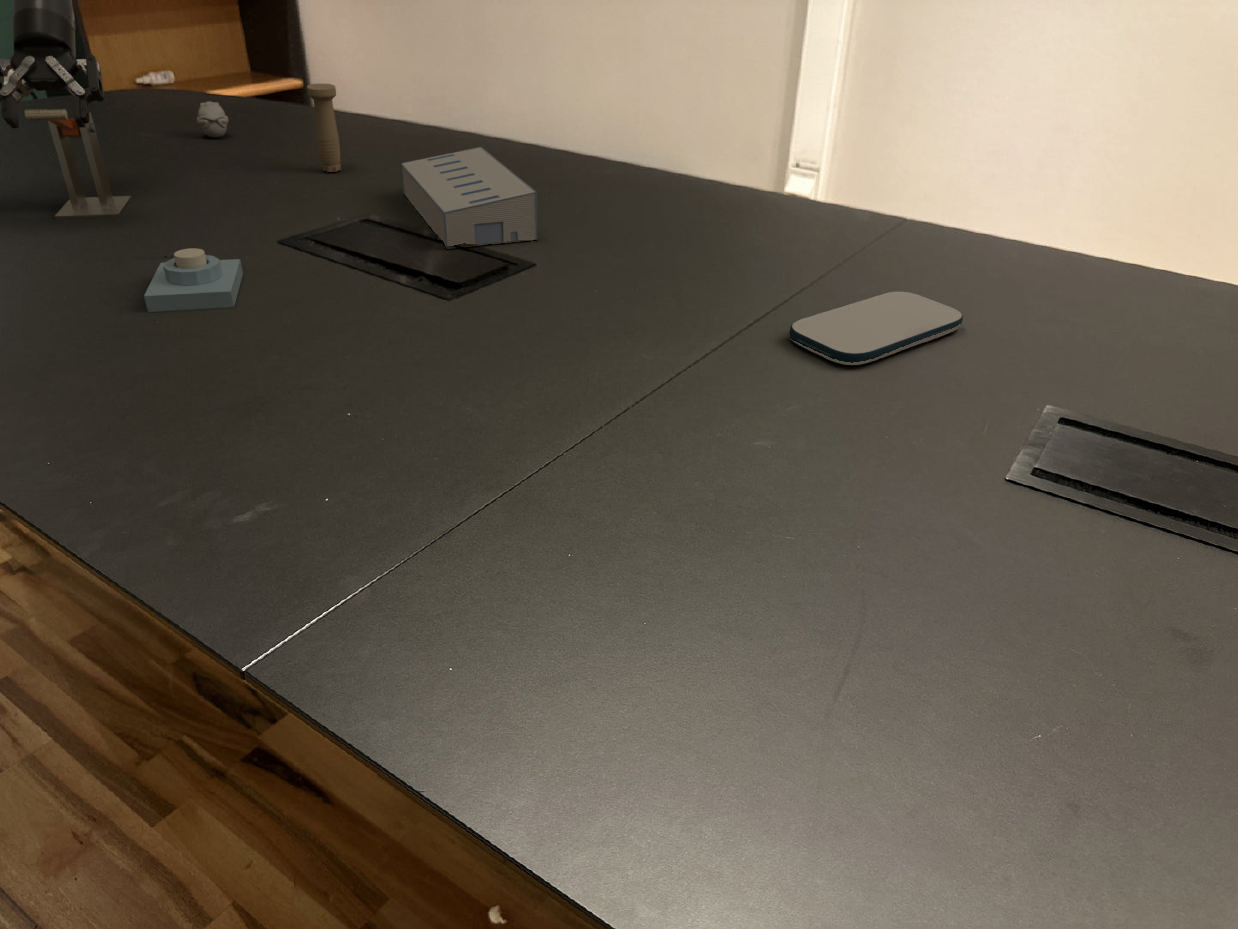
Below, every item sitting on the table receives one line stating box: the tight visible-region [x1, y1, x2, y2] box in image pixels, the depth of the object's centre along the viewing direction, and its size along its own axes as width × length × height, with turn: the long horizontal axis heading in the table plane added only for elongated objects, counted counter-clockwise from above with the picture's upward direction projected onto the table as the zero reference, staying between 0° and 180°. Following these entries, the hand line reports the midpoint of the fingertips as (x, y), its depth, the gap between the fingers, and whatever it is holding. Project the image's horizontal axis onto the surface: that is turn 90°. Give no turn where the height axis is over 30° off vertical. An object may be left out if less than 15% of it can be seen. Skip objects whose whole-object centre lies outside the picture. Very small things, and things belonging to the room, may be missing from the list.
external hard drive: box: [788, 290, 964, 363], centre depth 113 cm, size 24×12×2 cm, turn 127°
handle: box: [306, 83, 342, 173], centre depth 166 cm, size 5×6×15 cm
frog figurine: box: [196, 100, 229, 139], centre depth 188 cm, size 6×7×7 cm
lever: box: [23, 108, 82, 139], centre depth 132 cm, size 13×5×2 cm, turn 15°
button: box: [173, 247, 207, 269], centre depth 115 cm, size 4×4×2 cm
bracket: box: [47, 112, 132, 220], centre depth 140 cm, size 10×9×15 cm
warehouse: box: [400, 146, 539, 246], centre depth 146 cm, size 30×14×8 cm, turn 23°
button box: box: [143, 254, 244, 313], centre depth 116 cm, size 12×10×4 cm
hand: (46, 124), depth 126 cm, fingers open, 8 cm apart
